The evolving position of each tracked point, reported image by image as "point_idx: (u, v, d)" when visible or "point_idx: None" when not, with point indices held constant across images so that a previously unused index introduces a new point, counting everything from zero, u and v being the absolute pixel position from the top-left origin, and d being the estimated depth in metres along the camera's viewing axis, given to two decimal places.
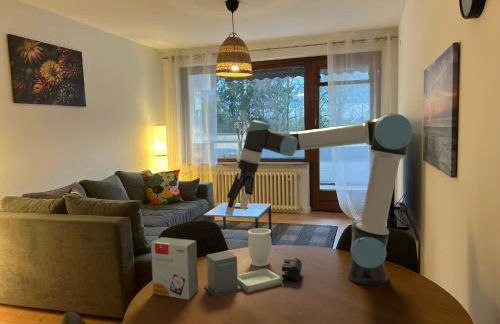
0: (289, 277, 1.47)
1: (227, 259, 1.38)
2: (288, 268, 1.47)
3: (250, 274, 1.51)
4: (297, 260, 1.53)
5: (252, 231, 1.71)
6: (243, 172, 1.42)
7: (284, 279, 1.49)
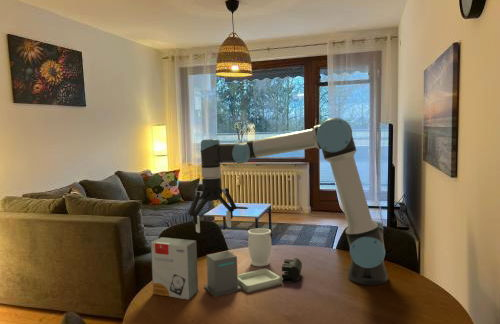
0: (289, 277, 1.47)
1: (227, 259, 1.38)
2: (288, 268, 1.47)
3: (250, 274, 1.51)
4: (297, 260, 1.53)
5: (252, 231, 1.71)
6: (203, 189, 1.49)
7: (284, 279, 1.49)
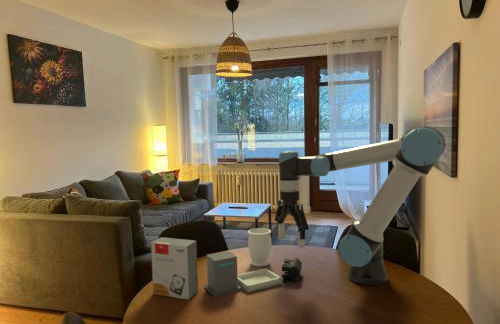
0: (289, 277, 1.47)
1: (227, 259, 1.38)
2: (288, 268, 1.47)
3: (250, 274, 1.51)
4: (297, 260, 1.53)
5: (252, 231, 1.71)
6: None
7: (284, 279, 1.49)
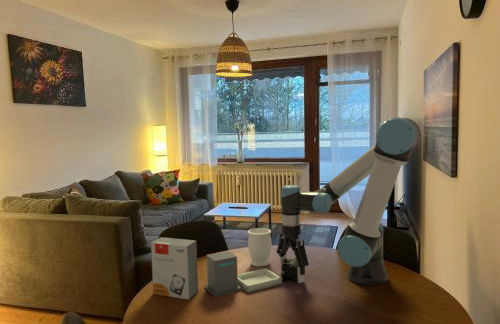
0: (289, 277, 1.47)
1: (227, 259, 1.38)
2: (288, 268, 1.47)
3: (250, 274, 1.51)
4: None
5: (252, 231, 1.71)
6: None
7: (284, 279, 1.49)
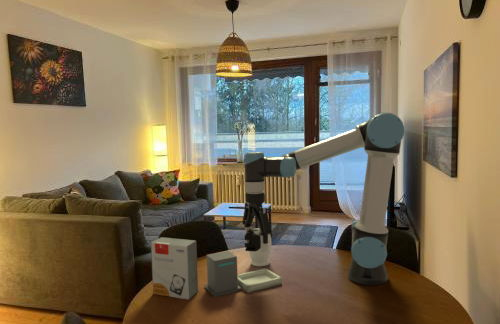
0: (252, 246, 1.42)
1: (227, 259, 1.38)
2: (251, 237, 1.42)
3: (250, 274, 1.51)
4: None
5: None
6: None
7: (247, 248, 1.44)
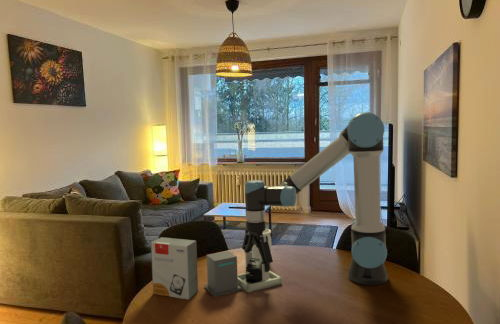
0: (253, 278, 1.43)
1: (227, 259, 1.38)
2: (252, 269, 1.42)
3: None
4: None
5: None
6: None
7: (248, 279, 1.45)
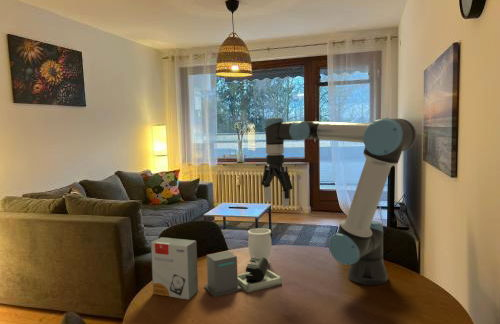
0: (253, 278, 1.43)
1: (227, 259, 1.38)
2: (252, 269, 1.42)
3: None
4: (264, 260, 1.48)
5: (252, 231, 1.71)
6: None
7: (248, 279, 1.45)
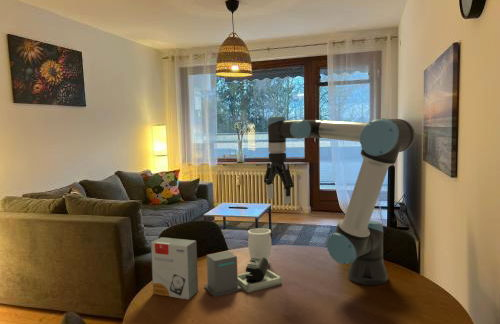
0: (253, 278, 1.43)
1: (227, 259, 1.38)
2: (252, 269, 1.42)
3: None
4: (264, 260, 1.48)
5: (252, 231, 1.71)
6: None
7: (248, 279, 1.45)
